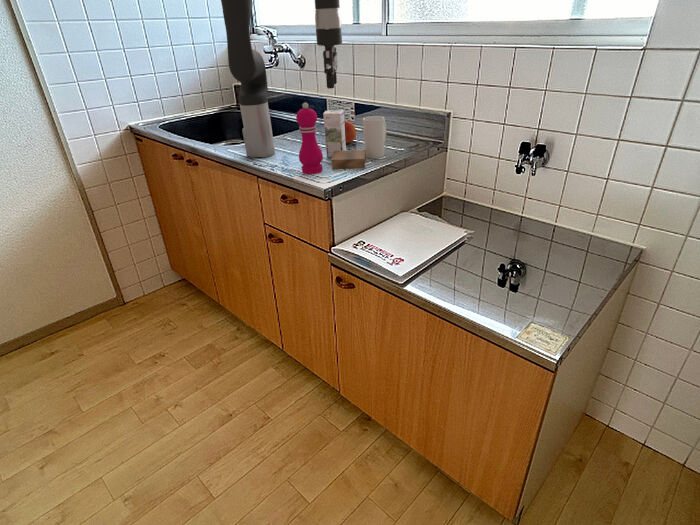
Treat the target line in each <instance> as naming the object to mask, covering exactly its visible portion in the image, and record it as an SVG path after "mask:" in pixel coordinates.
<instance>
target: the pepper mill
mask: <svg viewBox="0 0 700 525" xmlns="http://www.w3.org/2000/svg"><path fill="white" fill-rule="evenodd" d="M301 105H302V108H301V109H299V110H298V111H297V113H296V122H297V124H298V125H299V127H298V128H299V133H300V134H301V140H302V141H301V146H300V149H299V153H298V160H299V162H300V164H302V165H301V173H302V174H303V175H304V174H305V175H309V174H310V175H316V174H317V175H318V174H321V173H322V172H323V164H322V163H321V162H322V161H323V159H324V155H323V152H322V149H321V148H320V146H319V144H318V142H317V138H316V132H317V130H318V129H317V125H316V123H317V122H318V114H317V112H316V111H315V110H314V109H313V108H310V107H309V103H308V102H303V103H302V104H301Z"/></svg>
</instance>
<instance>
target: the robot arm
mask: <svg viewBox="0 0 700 525" xmlns="http://www.w3.org/2000/svg"><path fill="white" fill-rule="evenodd" d="M220 2H221V7H222V16H223V20H224V26H225V33H226V44H227V47H226V48H227V62H228V68H229V71H230V74H231V75H232V77H233V78H234V79H235V80H236V81H237V82H238V83H240V92H239V94H238V103H239V108H240V114H241V119H242V125H243V128H242V136H243V142H244V148H245V153H246V157H247V156H252V157H262V158H268V157H271V156H273V155H275V154H276V149H275V143H274V137H273V129H272V122H271V121H272V120H271V115H270V108H269V103H268V93H269V86H268V77H267V70H266V63H265V61H264V58H263V56H262V54H261V53H260V52H259V51H258V50H257V49H253V47H252V40H251V34H250V32H251V31H250V26H251V17H252V10H253V9H252V8H253V0H220ZM314 9H315V10H314V11H315V14H314V19H315V20H314V21H315V33H316V34H315V36H316V44H317V46H319V47H321V46H322V47H324V50H323V52H322V58H323V70H324V74H325V77H326V88H327V89H328V90H329V89H335V85H336V84H337V82H338V81H337V70H338V50H337V47H335V46H339V45H342V43H343V34H342V33H343V31H342V14H341V10H340V0H314ZM252 157H251V158H252Z"/></svg>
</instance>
